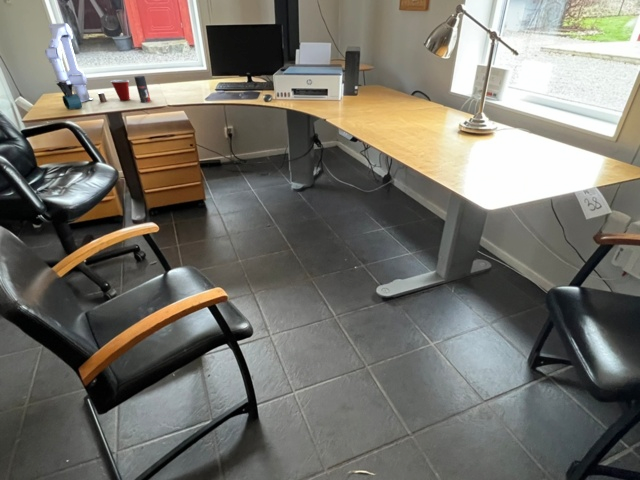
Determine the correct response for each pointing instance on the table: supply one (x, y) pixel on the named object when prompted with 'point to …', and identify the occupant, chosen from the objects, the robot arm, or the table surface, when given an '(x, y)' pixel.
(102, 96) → the block
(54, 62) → the robot arm
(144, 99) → the deodorant
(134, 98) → the table surface
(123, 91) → the plastic cup
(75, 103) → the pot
